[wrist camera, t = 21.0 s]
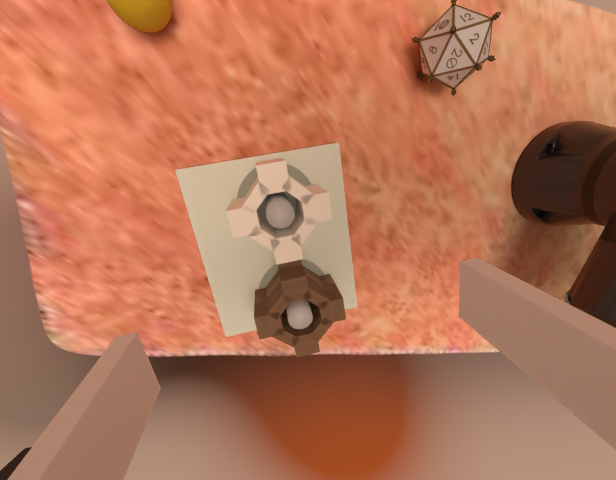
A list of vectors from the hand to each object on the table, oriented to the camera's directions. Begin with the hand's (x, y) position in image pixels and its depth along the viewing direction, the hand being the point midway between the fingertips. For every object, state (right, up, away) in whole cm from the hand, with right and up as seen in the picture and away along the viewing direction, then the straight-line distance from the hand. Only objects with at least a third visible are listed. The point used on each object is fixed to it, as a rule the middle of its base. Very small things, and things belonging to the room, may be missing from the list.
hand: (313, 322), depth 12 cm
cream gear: (-4, +8, +25) cm, 27 cm away
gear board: (-5, +3, +29) cm, 29 cm away
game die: (+16, +26, +25) cm, 39 cm away
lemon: (-17, +28, +19) cm, 37 cm away
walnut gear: (-2, -4, +29) cm, 30 cm away
